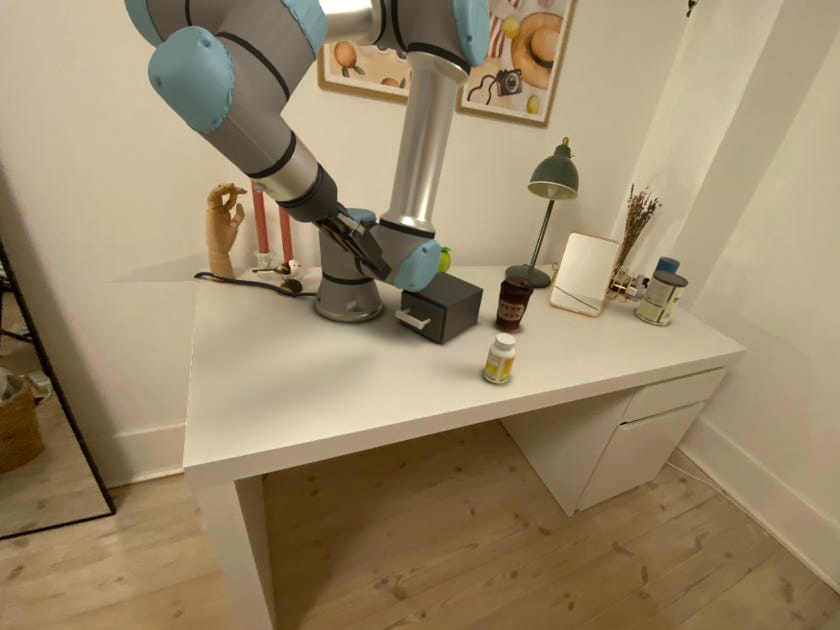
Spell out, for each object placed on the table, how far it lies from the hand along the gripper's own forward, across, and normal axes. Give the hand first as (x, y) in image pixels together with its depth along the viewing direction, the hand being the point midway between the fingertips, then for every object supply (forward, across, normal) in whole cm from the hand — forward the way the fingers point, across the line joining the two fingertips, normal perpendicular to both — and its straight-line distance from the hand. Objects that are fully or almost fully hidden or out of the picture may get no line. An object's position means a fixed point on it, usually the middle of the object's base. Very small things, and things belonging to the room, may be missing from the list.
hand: (385, 273), depth 69 cm
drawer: (+23, 0, -1) cm, 23 cm away
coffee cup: (+36, +13, +10) cm, 39 cm away
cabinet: (+27, 0, +1) cm, 27 cm away
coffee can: (+67, +43, +41) cm, 90 cm away
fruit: (+43, -20, +17) cm, 50 cm away
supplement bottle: (+21, +22, -5) cm, 31 cm away
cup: (+79, +40, +53) cm, 102 cm away
